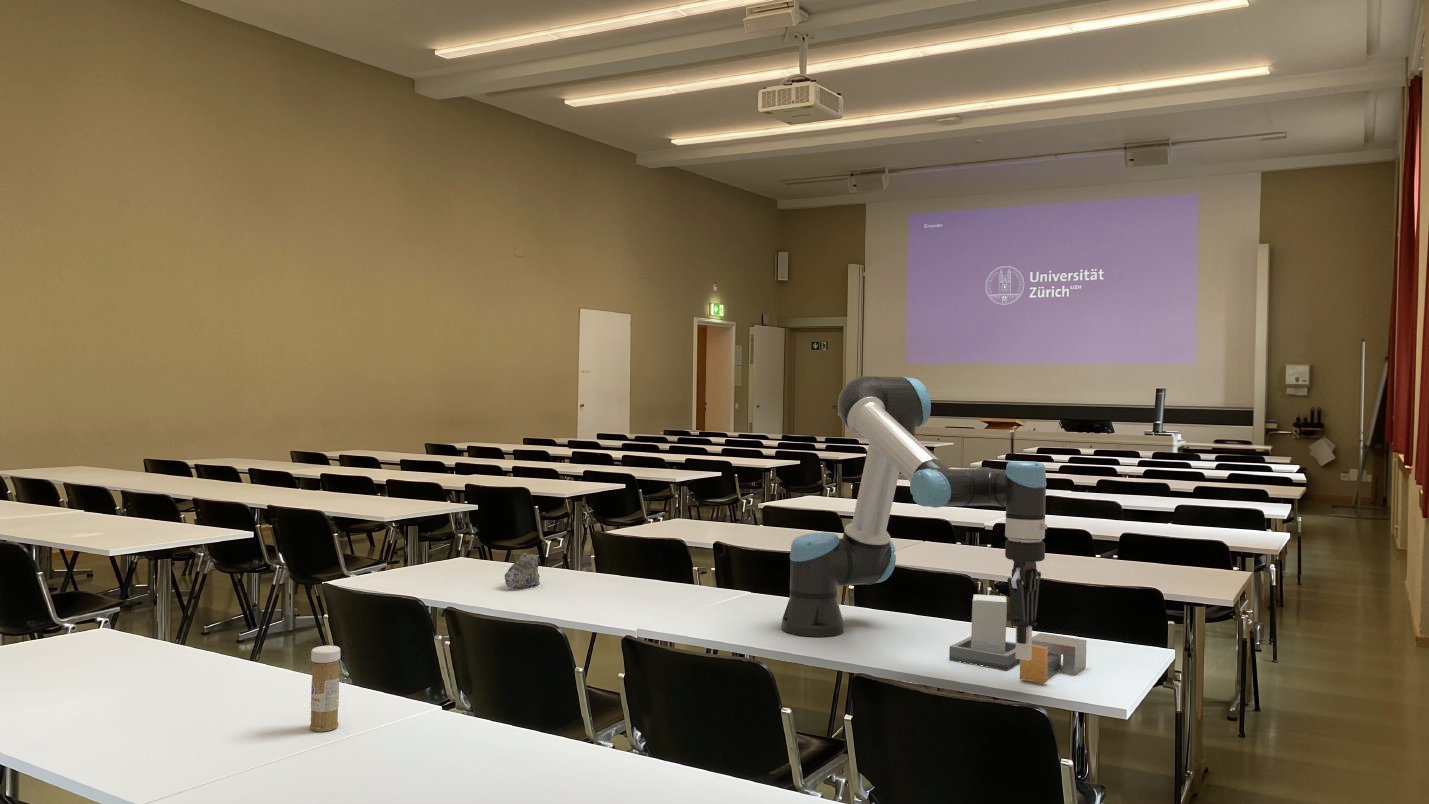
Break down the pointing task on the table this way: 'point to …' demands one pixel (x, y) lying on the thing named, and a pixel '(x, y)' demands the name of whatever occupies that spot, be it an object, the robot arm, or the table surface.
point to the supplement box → (989, 623)
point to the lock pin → (1040, 665)
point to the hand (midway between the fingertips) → (1023, 658)
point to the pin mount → (1065, 651)
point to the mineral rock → (523, 572)
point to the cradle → (984, 655)
